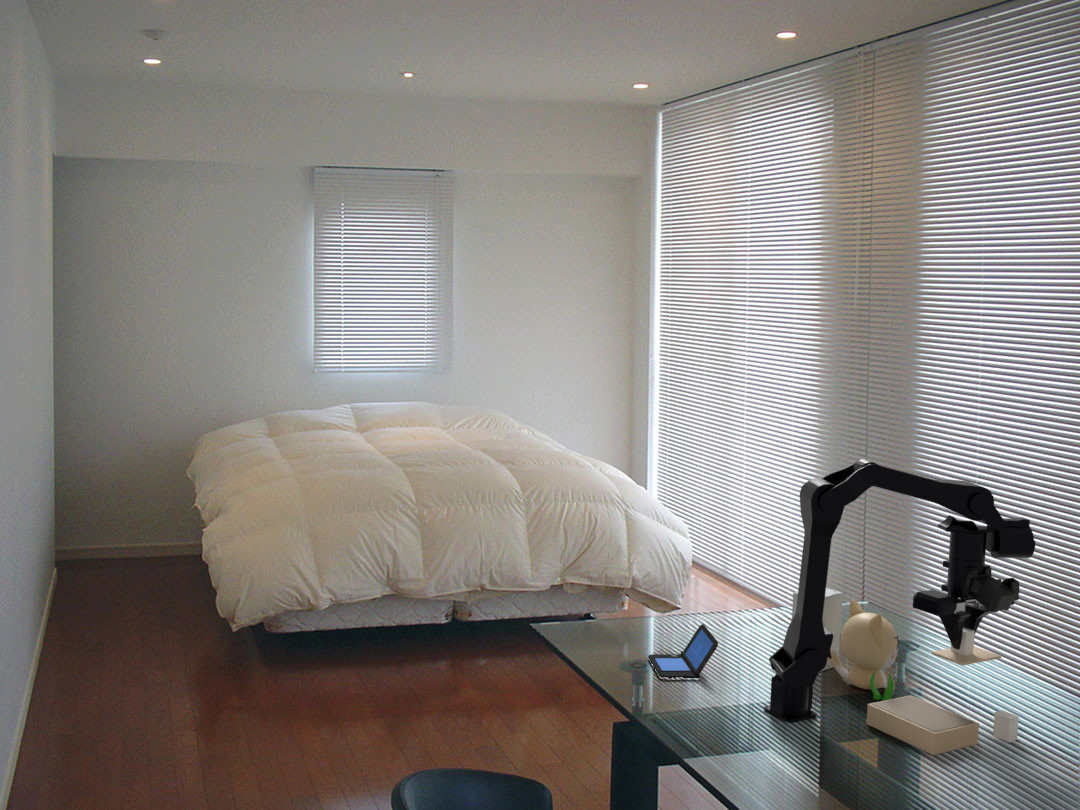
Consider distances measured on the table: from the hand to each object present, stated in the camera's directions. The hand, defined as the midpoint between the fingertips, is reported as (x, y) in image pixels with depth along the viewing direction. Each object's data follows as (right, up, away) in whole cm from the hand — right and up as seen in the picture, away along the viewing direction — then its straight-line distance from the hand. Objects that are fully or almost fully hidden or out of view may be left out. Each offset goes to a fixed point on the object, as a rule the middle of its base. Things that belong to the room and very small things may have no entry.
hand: (961, 648), depth 189 cm
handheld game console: (-45, -9, +21) cm, 50 cm away
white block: (+3, -13, -7) cm, 15 cm away
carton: (-10, -12, -8) cm, 17 cm away
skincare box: (-19, -9, +24) cm, 32 cm away
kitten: (-12, -10, +14) cm, 21 cm away
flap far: (+1, -1, -1) cm, 2 cm away
